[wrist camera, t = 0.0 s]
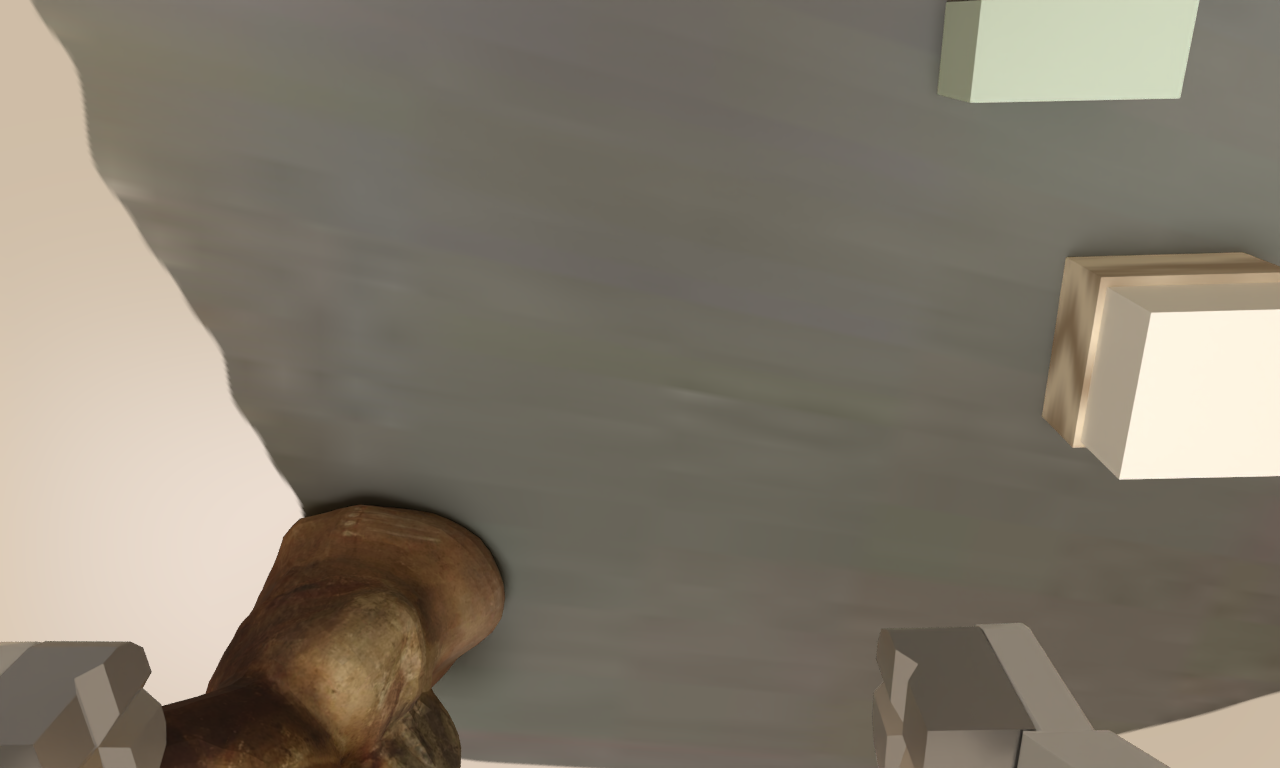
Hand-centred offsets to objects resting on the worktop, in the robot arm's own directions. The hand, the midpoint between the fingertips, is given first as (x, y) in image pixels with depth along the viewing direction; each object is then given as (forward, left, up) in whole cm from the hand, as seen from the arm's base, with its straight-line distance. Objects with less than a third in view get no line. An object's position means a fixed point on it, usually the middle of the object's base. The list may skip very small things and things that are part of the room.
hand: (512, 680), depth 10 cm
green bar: (-5, +24, -48) cm, 54 cm away
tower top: (+13, +33, -43) cm, 56 cm away
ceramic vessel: (+29, -20, -48) cm, 59 cm away
